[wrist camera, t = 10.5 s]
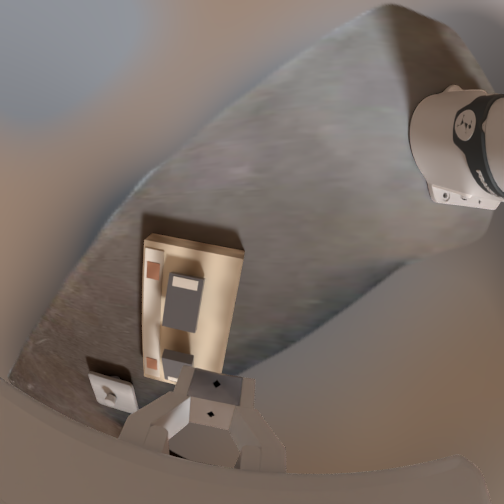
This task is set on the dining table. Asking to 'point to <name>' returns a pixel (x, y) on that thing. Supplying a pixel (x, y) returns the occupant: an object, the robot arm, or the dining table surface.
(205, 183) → the dining table surface
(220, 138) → the dining table surface
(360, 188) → the dining table surface
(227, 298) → the switch panel
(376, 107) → the dining table surface
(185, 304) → the plate
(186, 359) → the plate
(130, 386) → the light switch
